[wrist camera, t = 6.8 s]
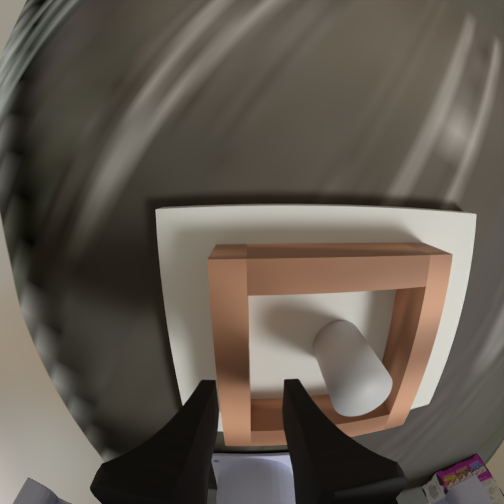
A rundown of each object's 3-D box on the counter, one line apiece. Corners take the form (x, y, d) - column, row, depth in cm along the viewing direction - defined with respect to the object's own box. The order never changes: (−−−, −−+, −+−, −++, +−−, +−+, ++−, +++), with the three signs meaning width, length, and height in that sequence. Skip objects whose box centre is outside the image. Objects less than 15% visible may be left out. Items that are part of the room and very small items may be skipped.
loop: (388, 398, 17) (403, 424, 14) (228, 414, 17) (225, 445, 14) (423, 242, 14) (453, 254, 11) (216, 244, 14) (207, 259, 11)
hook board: (421, 393, 19) (454, 440, 13) (191, 416, 19) (177, 479, 13) (463, 211, 15) (529, 226, 9) (163, 206, 15) (111, 221, 9)
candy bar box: (419, 487, 25) (448, 555, 9) (434, 471, 24) (469, 543, 8) (463, 469, 25) (495, 524, 9) (478, 452, 24) (514, 509, 8)
